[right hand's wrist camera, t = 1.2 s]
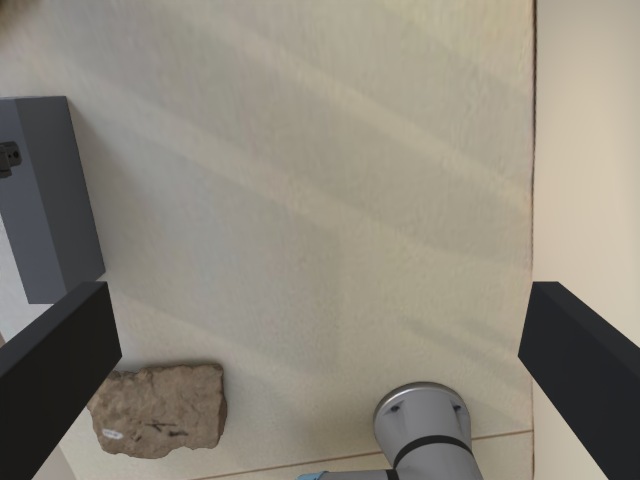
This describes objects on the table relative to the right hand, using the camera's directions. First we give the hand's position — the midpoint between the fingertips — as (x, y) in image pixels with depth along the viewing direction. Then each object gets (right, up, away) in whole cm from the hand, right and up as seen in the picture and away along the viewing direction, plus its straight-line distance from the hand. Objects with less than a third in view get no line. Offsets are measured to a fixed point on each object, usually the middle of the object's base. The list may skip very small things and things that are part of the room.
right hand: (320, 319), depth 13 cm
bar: (-33, +9, +40) cm, 52 cm away
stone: (-25, -22, +52) cm, 61 cm away
